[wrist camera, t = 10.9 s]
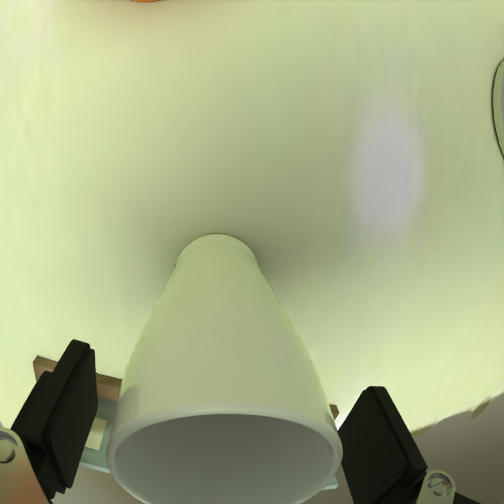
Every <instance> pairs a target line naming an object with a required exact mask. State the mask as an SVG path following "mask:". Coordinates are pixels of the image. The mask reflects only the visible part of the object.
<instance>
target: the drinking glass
mask: <svg viewBox="0 0 504 504" xmlns="http://www.w3.org/2000/svg"><path fill="white" fill-rule="evenodd" d="M342 458H343V447H342V442H341V440H340V437H339V434H338V431H337V428H336V425H335V421H334V418H333V415H332V412H331V409H330V406H329V403H328V401H327V398H326V395H325V392H324V390H323V387H322V385H321V382H320V380H319V377H318V375H317V372H316V370H315V368H314V365H313V363H312V361H311V359H310V357H309V355H308V353H307V351H306V349H305V347H304V345H303V343H302V341H301V339H300V338H299V336H298V334H297V332H296V331H295V329H294V327H293V325H292V324H291V322H290V320H289V318H288V317H287V315H286V313H285V312H284V310H283V308H282V307H281V305H280V303H279V301H278V300H277V298H276V296H275V295H274V293H273V291H272V289H271V288H270V286H269V284H268V282H267V281H266V279H265V277H264V275H263V274H262V272H261V270H260V268H259V265H258V262H257V260H256V257H255V256H254V254H253V252H252V251H251V250H250V249H249V247H248V246H247V245H245V244H244V243H243V242H242V241H240V240H238V239H236V238H234V237H232V236H228V235H223V234H210V235H206V236H202V237H200V238H197V239H196V240H194V241H192V242H191V243H190V244H189V245H187V246H186V247H185V248H184V250H183V251H182V252H181V254H180V256H179V258H178V260H177V263H176V265H175V269H174V271H173V273H172V275H171V277H170V279H169V281H168V282H167V284H166V286H165V288H164V290H163V292H162V294H161V296H160V298H159V300H158V302H157V303H156V305H155V307H154V309H153V311H152V313H151V315H150V317H149V319H148V321H147V323H146V325H145V327H144V328H143V330H142V333H141V335H140V337H139V339H138V341H137V343H136V345H135V348H134V350H133V352H132V355H131V357H130V360H129V362H128V365H127V367H126V370H125V373H124V376H123V379H122V382H121V386H120V389H119V393H118V396H117V400H116V404H115V408H114V413H113V417H112V422H111V427H110V433H109V438H108V443H107V447H106V462H107V466H108V468H109V471H110V473H111V474H112V476H113V477H114V479H115V480H116V481H117V483H118V484H119V485H120V486H121V487H122V488H123V489H124V490H126V491H127V492H128V493H130V494H131V495H132V496H134V497H135V498H137V499H138V500H140V501H142V502H144V503H145V504H300V503H302V502H304V501H305V500H307V499H309V498H311V497H312V496H314V495H315V494H317V493H318V492H319V491H321V490H322V489H323V488H324V487H325V486H326V485H327V484H328V483H329V482H330V481H331V480H332V479H333V477H334V476H335V475H336V473H337V471H338V470H339V467H340V465H341V462H342Z"/></svg>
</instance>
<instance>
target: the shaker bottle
mask: <svg viewBox="0 0 504 504" xmlns="http://www.w3.org/2000/svg"><path fill="white" fill-rule="evenodd" d="M133 1H138V2H150V1H158V0H133Z"/></svg>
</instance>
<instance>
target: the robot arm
mask: <svg viewBox="0 0 504 504" xmlns="http://www.w3.org/2000/svg"><path fill="white" fill-rule="evenodd" d="M493 109H494V120H495V126H496V132H497V136H498V140H499V144H500V147H501V149H502V152H503V155H504V60H503V61H502V63H501V64H500V66H499V68H498V71H497V74H496V77H495V83H494V89H493ZM97 409H98V396H97V383H96V368H95V351H94V349H90V345H89V344H88V343H85V342H82V341H78V340H75V339H73V340H72V341H71V342H70V344H69V345H68V347H67V348H66V350H65V352H64V353H63V355H62V357H61V358H60V360H59V361H58V363H57V365H56V366H55V368H54V370H53V372H50V371H47V370H46V371H44V372H43V373H42V375H41V376H40V378H39V379H38V381H37V383H36V384H35V386H34V388H33V389H32V391H31V393H30V395H29V396H28V398H27V400H26V402H25V403H24V405H23V407H22V409H21V410H20V412H19V414H18V416H17V418H16V419H15V421H14V423H13V425H12V427H11V429H8V428H4V427H0V504H53V502H52V500H51V499H53V498H54V496H55V493H56V491H57V492H59V493H62V494H64V493H65V490H66V487H67V488H69V489H70V488H71V487H72V485H73V482H74V478H75V475H76V472H77V469H78V466H79V463H80V459H81V456H82V453H83V450H84V447H85V444H86V441H87V439H88V436H89V433H90V430H91V427H92V424H93V421H94V419H95V416H96V413H97ZM338 434H339V437H340V440H341V442H342V447H343V458H342V462H341V464H342V468H343V471H344V474H345V477H346V480H347V483H348V486H349V489H350V493H351V496H352V499H353V502H354V504H481V503H478V502H476V501H473V500H471V499H469V498H467V497H465V496H463V495H460V494H458V493H456V492H455V484H454V481H453V480H452V478H451V477H450V476H449V475H448V474H447V473H445V472H443V471H440V470H432V471H430V472H428V473H426V471H425V470H426V469H427V468H428V467H427V465H426V463H425V461H424V459H423V457H422V455H421V453H420V451H419V449H418V447H417V445H416V443H415V442H414V440H413V438H412V436H411V434H410V432H409V430H408V428H407V426H406V425H405V423H404V421H403V419H402V417H401V415H400V414H399V412H398V410H397V408H396V406H395V404H394V403H393V401H392V399H391V397H390V395H389V394H388V392H387V390H386V389H385V387H383V386H369V387H368V388H367V389H366V390H364V391H363V392H362V393H361V395H360V397H359V398H358V400H357V402H356V403H355V405H354V406H353V408H352V410H351V411H350V413H349V414H348V416H347V418H346V419H345V421H344V422H343V424H342V425H341V427H340V428H339V430H338Z"/></svg>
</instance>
